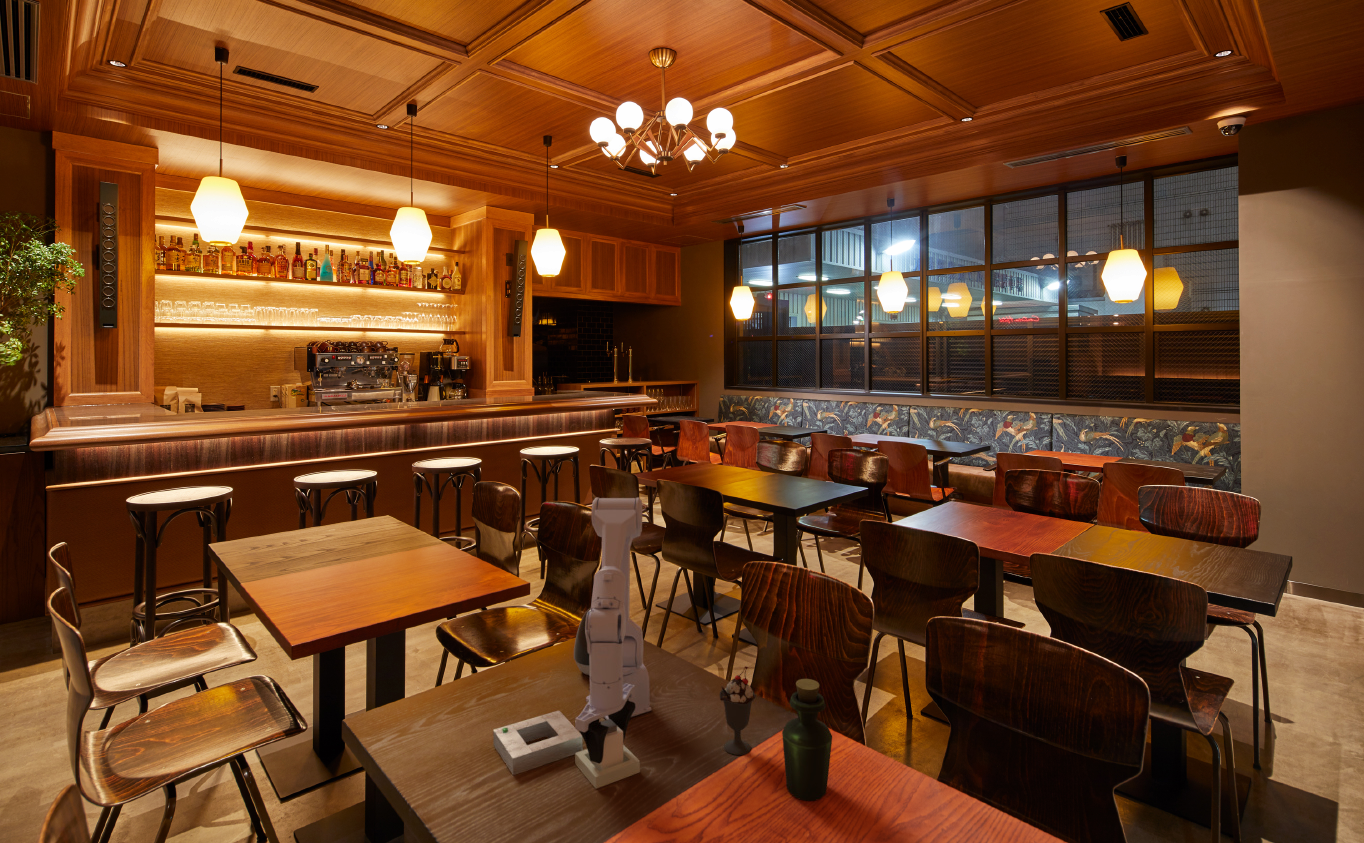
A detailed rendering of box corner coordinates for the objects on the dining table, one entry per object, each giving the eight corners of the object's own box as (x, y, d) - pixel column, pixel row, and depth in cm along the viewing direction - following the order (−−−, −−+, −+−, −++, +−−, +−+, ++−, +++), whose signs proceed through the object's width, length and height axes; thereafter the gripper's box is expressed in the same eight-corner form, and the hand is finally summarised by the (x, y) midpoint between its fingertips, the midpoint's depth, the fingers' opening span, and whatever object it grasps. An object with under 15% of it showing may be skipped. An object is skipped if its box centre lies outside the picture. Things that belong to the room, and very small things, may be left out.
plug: (612, 758, 118) (612, 715, 117) (623, 770, 114) (623, 725, 114) (591, 766, 116) (590, 722, 115) (601, 778, 112) (601, 733, 112)
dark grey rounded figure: (599, 685, 146) (598, 618, 145) (564, 674, 152) (563, 609, 150) (627, 668, 154) (627, 605, 153) (593, 658, 160) (593, 597, 159)
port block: (559, 724, 129) (559, 708, 129) (582, 751, 120) (582, 734, 120) (493, 745, 122) (493, 728, 122) (513, 775, 113) (512, 756, 113)
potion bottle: (819, 771, 114) (820, 670, 113) (840, 801, 106) (841, 693, 105) (774, 777, 112) (775, 675, 111) (792, 808, 104) (793, 698, 103)
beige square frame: (617, 749, 121) (617, 738, 121) (639, 772, 114) (639, 761, 114) (575, 763, 116) (575, 753, 116) (595, 788, 109) (595, 777, 109)
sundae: (760, 742, 123) (760, 664, 122) (748, 761, 117) (748, 679, 116) (727, 734, 126) (727, 658, 125) (714, 752, 120) (714, 672, 119)
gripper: (612, 656, 122) (613, 726, 123) (560, 688, 110) (561, 766, 111) (644, 664, 119) (644, 737, 120) (594, 698, 106) (595, 779, 107)
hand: (607, 751), depth 115 cm, fingers closed on plug, 6 cm apart
